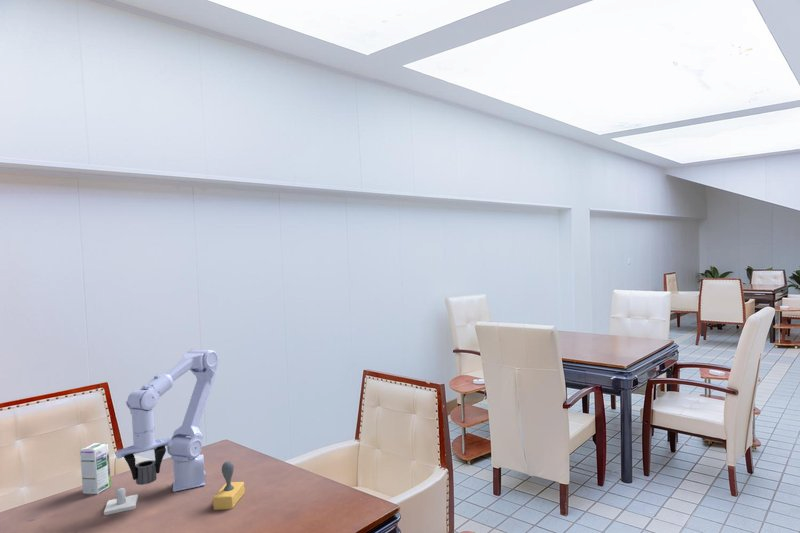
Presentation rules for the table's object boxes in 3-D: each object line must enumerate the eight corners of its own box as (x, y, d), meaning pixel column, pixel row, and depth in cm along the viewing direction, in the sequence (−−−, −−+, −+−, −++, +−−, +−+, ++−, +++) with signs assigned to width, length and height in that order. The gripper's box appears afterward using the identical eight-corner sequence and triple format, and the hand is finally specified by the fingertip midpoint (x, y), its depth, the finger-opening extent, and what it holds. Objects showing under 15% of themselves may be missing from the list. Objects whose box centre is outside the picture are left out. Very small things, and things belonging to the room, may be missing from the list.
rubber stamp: (226, 493, 152) (224, 455, 152) (245, 493, 152) (242, 454, 152) (213, 509, 142) (210, 468, 142) (232, 509, 142) (230, 468, 142)
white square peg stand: (137, 497, 153) (136, 481, 153) (135, 508, 145) (134, 492, 145) (108, 503, 150) (107, 487, 150) (104, 515, 142) (103, 498, 142)
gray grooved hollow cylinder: (157, 475, 150) (156, 459, 150) (155, 482, 145) (155, 465, 145) (137, 479, 148) (136, 462, 148) (135, 486, 143) (134, 469, 143)
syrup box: (97, 494, 156) (95, 449, 156) (81, 493, 157) (79, 449, 157) (111, 486, 162) (109, 442, 162) (96, 485, 163) (93, 442, 163)
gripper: (166, 421, 154) (169, 464, 154) (113, 433, 145) (116, 478, 145) (172, 426, 148) (174, 471, 148) (117, 439, 139) (120, 486, 139)
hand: (146, 475), depth 146 cm, fingers closed on gray grooved hollow cylinder, 6 cm apart
